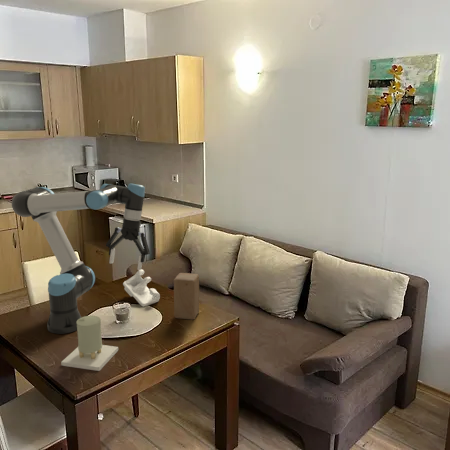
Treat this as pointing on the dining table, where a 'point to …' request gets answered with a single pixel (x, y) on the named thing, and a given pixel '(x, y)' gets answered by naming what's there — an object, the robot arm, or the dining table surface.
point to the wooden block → (186, 296)
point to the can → (89, 334)
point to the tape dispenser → (141, 289)
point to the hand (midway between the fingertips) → (125, 266)
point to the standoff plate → (90, 358)
